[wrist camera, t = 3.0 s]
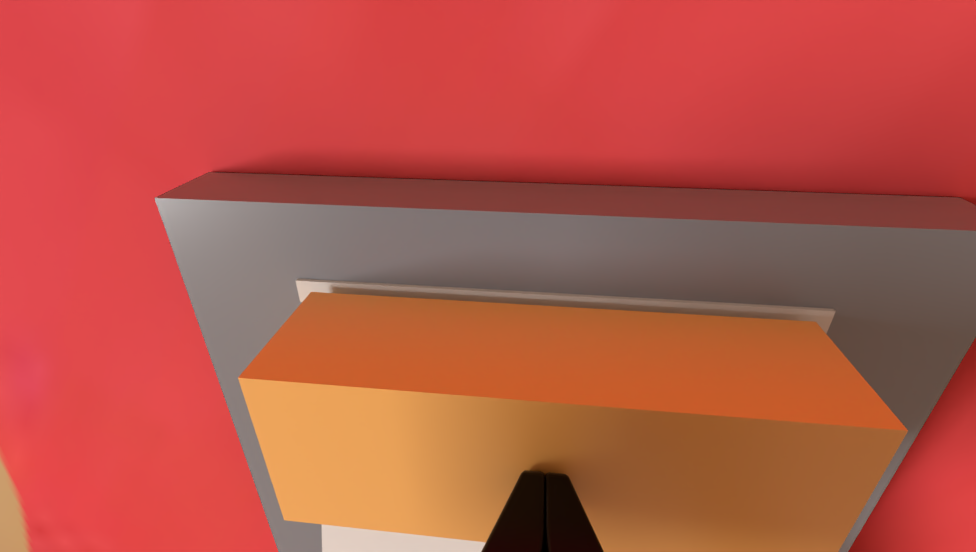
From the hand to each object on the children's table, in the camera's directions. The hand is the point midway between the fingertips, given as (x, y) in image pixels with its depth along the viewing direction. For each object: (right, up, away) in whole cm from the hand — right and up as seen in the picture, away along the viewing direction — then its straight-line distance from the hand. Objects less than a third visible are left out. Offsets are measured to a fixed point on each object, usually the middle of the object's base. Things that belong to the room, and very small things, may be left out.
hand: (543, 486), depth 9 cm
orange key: (0, +2, +3) cm, 3 cm away
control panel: (+1, -3, +8) cm, 9 cm away
